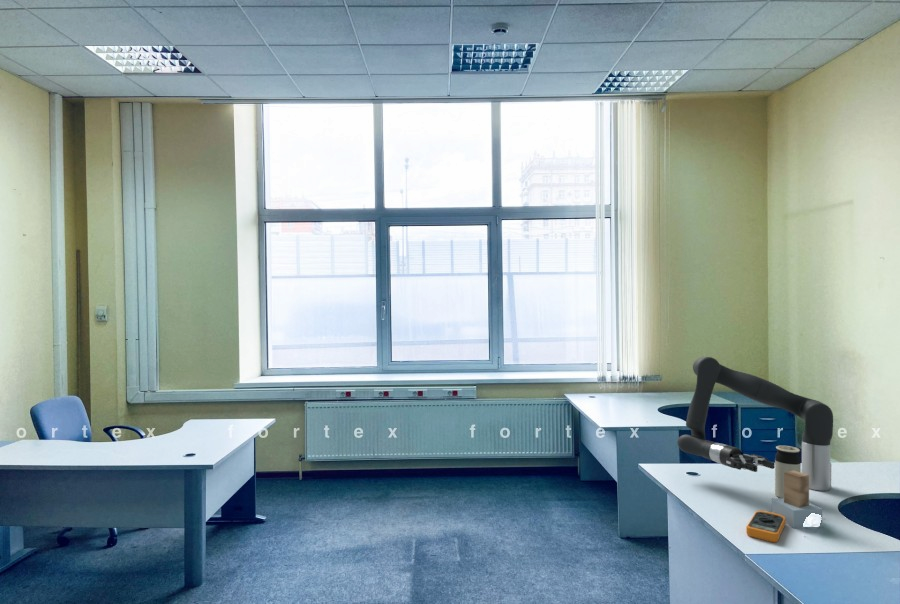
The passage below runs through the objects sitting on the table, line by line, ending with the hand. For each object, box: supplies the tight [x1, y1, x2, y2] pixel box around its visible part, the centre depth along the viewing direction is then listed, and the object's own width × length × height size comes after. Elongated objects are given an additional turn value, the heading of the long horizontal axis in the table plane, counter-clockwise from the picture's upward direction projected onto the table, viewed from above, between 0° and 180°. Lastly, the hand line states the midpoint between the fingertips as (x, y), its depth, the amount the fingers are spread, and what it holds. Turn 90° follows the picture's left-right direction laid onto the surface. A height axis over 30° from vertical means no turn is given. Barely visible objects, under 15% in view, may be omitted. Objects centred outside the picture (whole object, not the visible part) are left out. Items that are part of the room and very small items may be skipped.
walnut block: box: [784, 470, 810, 508], centre depth 178 cm, size 5×5×10 cm
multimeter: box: [745, 510, 786, 543], centre depth 172 cm, size 9×18×3 cm, turn 141°
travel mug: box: [774, 445, 802, 498], centre depth 200 cm, size 8×8×18 cm
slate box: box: [771, 497, 824, 529], centre depth 178 cm, size 10×10×6 cm
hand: (765, 467), depth 189 cm, fingers open, 8 cm apart
